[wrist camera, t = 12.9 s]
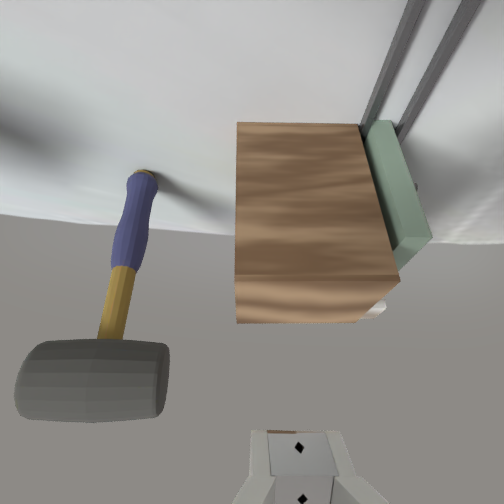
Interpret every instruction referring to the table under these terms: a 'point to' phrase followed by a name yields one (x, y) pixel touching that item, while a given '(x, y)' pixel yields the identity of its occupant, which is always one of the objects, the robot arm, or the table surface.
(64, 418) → the rubber mallet
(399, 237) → the cabinet door
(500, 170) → the table surface
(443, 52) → the door track
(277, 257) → the walnut cabinet
